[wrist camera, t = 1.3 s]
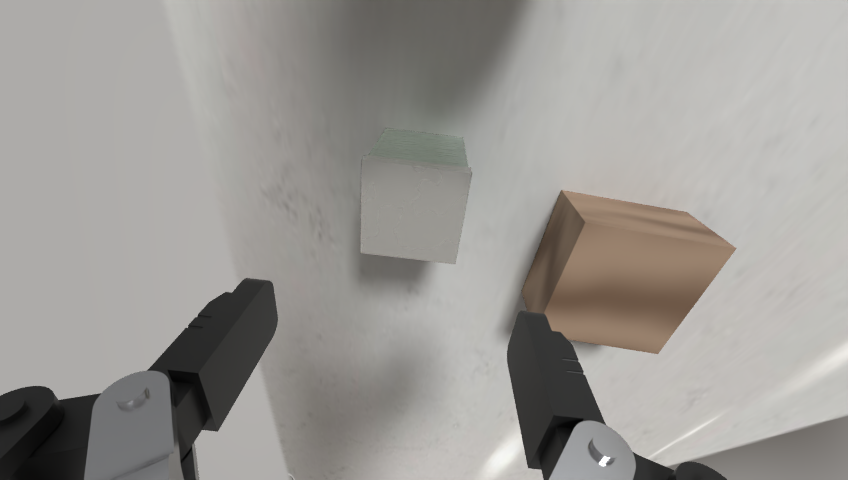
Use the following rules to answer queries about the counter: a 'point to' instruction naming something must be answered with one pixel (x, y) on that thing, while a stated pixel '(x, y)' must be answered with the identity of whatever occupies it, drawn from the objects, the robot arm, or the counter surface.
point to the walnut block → (621, 271)
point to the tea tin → (414, 196)
